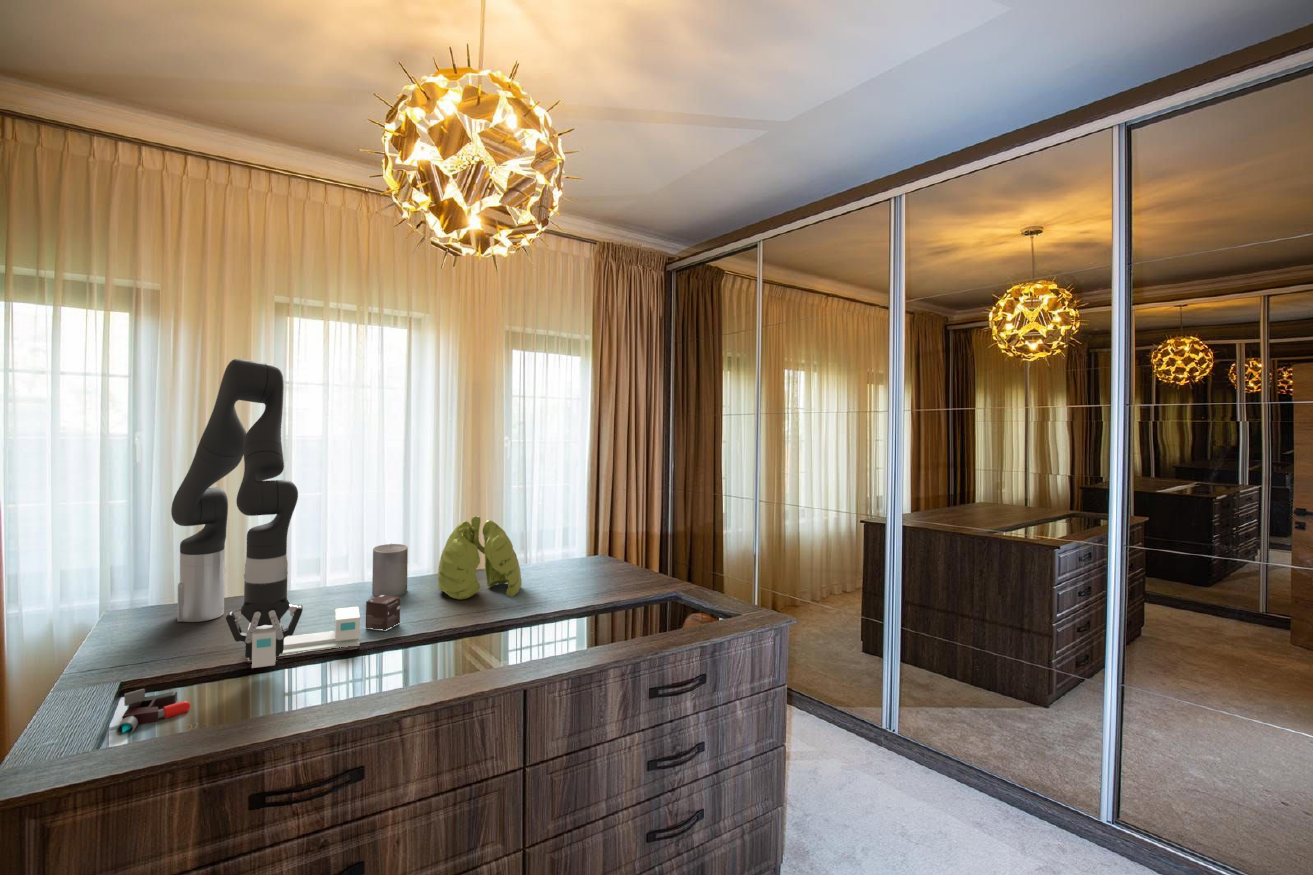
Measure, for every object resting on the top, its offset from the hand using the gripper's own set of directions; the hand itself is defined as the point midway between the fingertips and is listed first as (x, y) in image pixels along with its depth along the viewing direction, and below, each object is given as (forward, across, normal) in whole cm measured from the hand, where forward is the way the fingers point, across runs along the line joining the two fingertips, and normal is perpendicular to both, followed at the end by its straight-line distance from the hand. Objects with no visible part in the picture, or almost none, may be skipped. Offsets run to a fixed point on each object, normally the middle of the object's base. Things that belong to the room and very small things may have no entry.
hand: (264, 656), depth 128 cm
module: (+1, 0, 0) cm, 1 cm away
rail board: (+4, -7, -13) cm, 15 cm away
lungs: (+5, -53, -41) cm, 67 cm away
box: (+5, -24, -21) cm, 32 cm away
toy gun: (+5, +16, +11) cm, 20 cm away
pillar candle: (+5, -28, -49) cm, 57 cm away
